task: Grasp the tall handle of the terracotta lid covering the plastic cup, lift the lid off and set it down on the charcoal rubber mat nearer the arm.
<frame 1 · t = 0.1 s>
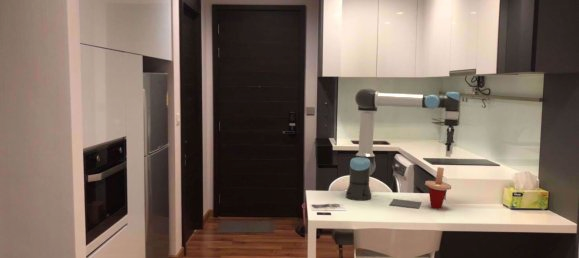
hand: (448, 155, 289), 28 cm above the worktop, fingers open, 13 cm apart
lid: (437, 186, 278), point 12 cm above the worktop, touching plastic cup
mat: (405, 204, 284), on the worktop
plastic cup: (436, 207, 279), on the worktop, touching lid
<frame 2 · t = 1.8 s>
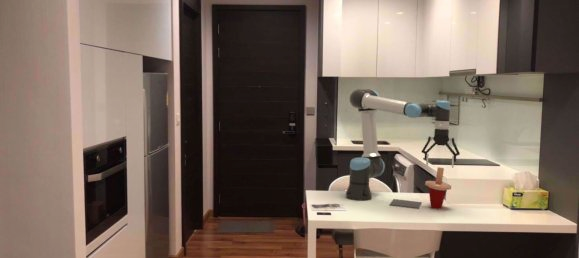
hand: (439, 166, 276), 23 cm above the worktop, fingers open, 13 cm apart
nothing on the worktop moved.
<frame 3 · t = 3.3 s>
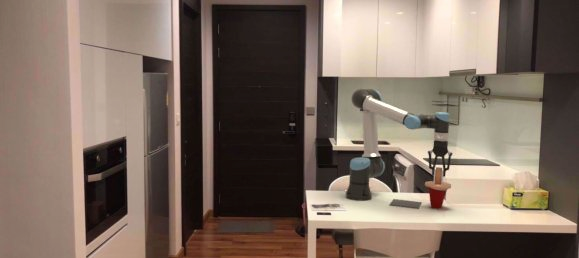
hand: (438, 181, 277), 15 cm above the worktop, fingers closed on lid, 3 cm apart
lid: (437, 186, 278), point 12 cm above the worktop, touching gripper
plastic cup: (436, 207, 279), on the worktop
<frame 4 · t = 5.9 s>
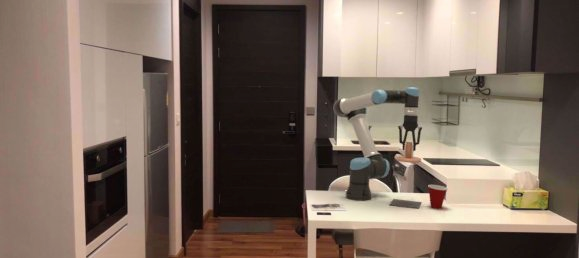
hand: (408, 156, 281), 28 cm above the worktop, fingers closed on lid, 3 cm apart
lid: (408, 160, 281), point 25 cm above the worktop, touching gripper
everything else where it was.
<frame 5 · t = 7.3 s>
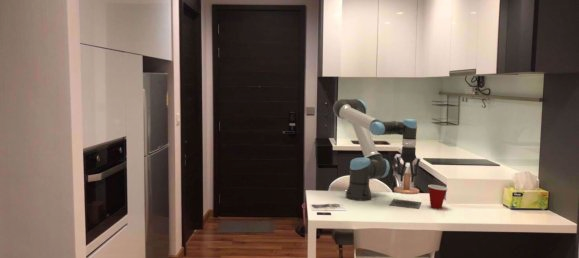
hand: (406, 187, 283), 10 cm above the worktop, fingers closed on lid, 3 cm apart
lid: (406, 191, 283), point 7 cm above the worktop, touching gripper
everything else where it was.
when the fingers open (5 cm above the worktop, at t = 8.5 s): lid drops 1 cm, resting on mat.
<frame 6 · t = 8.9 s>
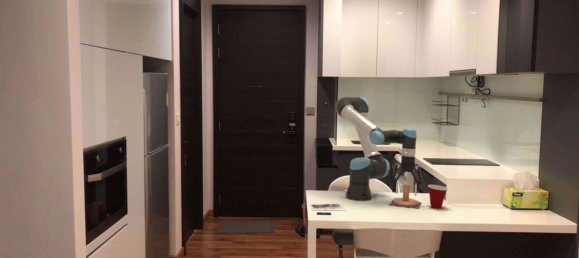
hand: (406, 194, 283), 6 cm above the worktop, fingers open, 10 cm apart
lid: (405, 203, 283), point 1 cm above the worktop, touching mat
everything else where it was.
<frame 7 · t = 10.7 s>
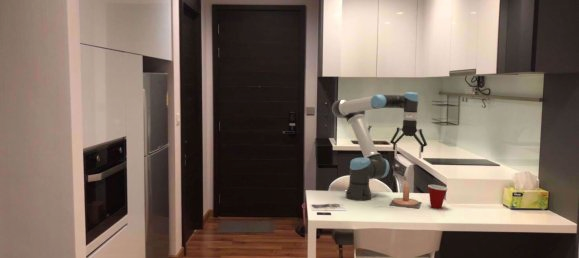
hand: (407, 157, 282), 27 cm above the worktop, fingers open, 13 cm apart
nothing on the worktop moved.
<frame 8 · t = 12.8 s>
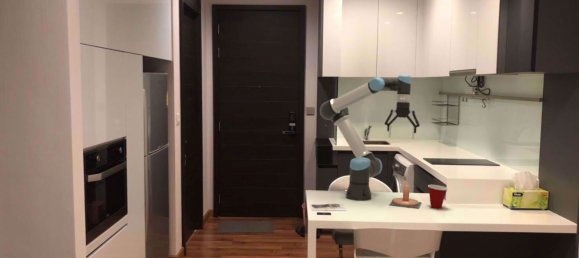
hand: (401, 137, 293), 37 cm above the worktop, fingers open, 13 cm apart
nothing on the worktop moved.
at the end: lid inside the target area on the mat (0.1 cm from its centre), point 0.6 cm above the mat's base; lid tilted 0°; the gripper is holding nothing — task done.
